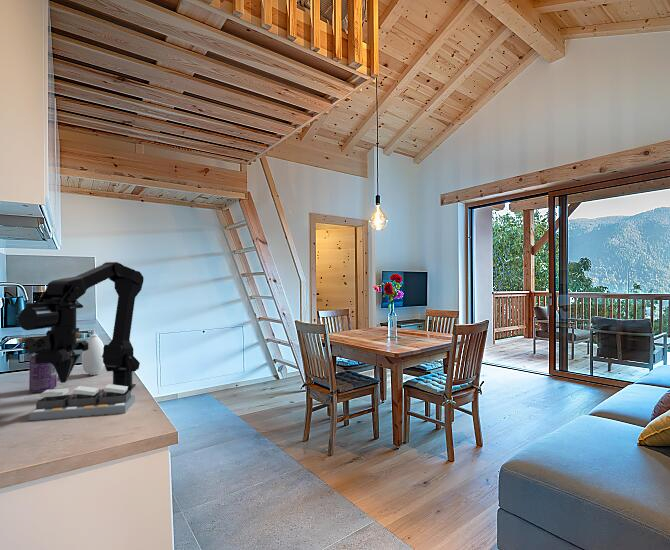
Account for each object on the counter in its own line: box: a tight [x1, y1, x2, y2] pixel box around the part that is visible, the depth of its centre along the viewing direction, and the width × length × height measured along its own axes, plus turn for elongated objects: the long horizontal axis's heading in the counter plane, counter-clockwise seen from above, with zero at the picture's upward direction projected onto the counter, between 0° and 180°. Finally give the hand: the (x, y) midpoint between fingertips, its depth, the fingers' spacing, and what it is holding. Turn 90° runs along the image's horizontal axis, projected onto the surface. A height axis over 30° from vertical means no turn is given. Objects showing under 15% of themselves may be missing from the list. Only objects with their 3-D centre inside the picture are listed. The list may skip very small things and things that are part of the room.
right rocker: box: [103, 383, 128, 394], centre depth 108 cm, size 4×5×1 cm
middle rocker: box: [72, 385, 100, 396], centre depth 106 cm, size 4×5×1 cm
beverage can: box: [28, 352, 58, 393], centre depth 125 cm, size 7×7×12 cm
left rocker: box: [40, 388, 70, 398], centre depth 104 cm, size 4×5×1 cm
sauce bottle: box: [81, 327, 105, 376], centre depth 145 cm, size 8×8×18 cm
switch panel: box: [28, 390, 136, 421], centre depth 106 cm, size 10×23×4 cm, turn 104°
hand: (63, 382), depth 105 cm, fingers closed
